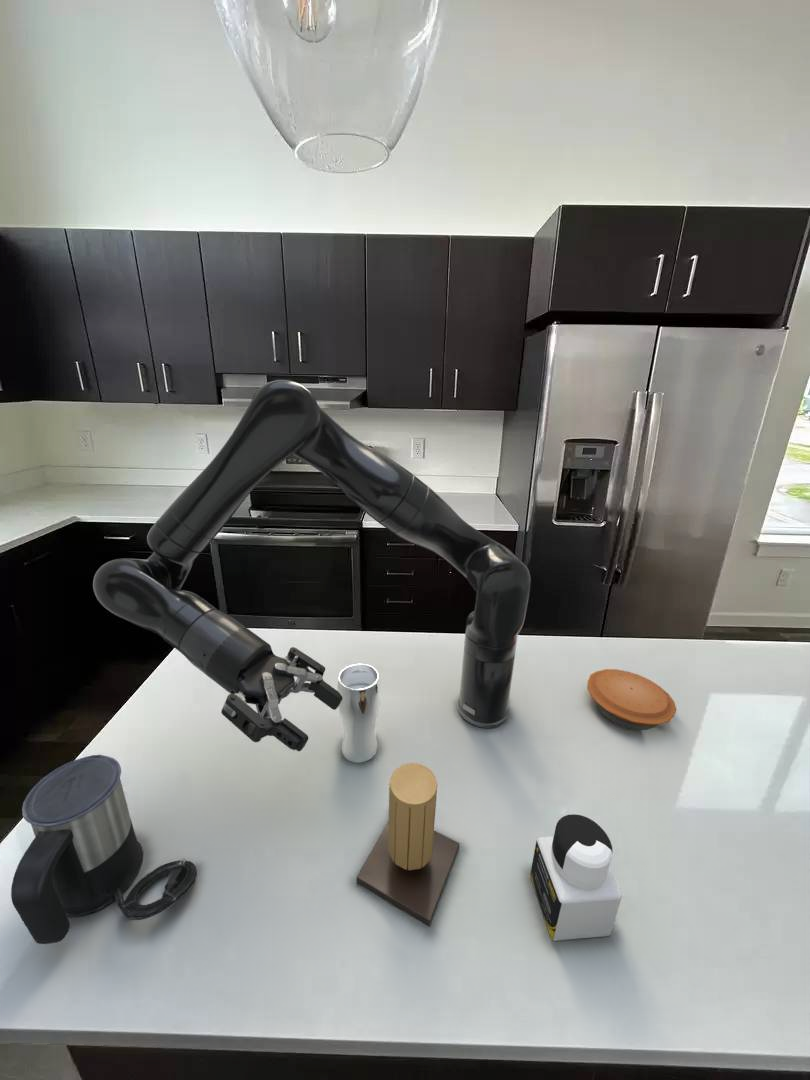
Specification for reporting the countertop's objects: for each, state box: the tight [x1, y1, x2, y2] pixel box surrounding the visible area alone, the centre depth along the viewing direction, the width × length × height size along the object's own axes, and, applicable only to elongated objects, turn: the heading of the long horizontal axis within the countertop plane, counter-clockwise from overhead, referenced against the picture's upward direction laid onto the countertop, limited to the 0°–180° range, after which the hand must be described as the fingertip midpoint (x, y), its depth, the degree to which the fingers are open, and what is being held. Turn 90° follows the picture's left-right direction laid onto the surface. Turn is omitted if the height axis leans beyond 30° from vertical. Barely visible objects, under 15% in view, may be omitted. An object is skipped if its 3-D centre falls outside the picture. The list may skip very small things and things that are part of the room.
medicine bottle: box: [529, 813, 623, 942], centre depth 50 cm, size 7×7×12 cm
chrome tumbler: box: [336, 663, 381, 764], centre depth 70 cm, size 7×7×15 cm
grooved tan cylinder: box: [388, 762, 438, 870], centre depth 52 cm, size 6×6×11 cm
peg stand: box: [356, 820, 460, 928], centre depth 53 cm, size 10×10×14 cm
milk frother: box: [10, 754, 198, 945], centre depth 50 cm, size 14×16×15 cm
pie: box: [586, 668, 677, 731], centre depth 83 cm, size 16×16×5 cm
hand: (323, 722), depth 54 cm, fingers open, 8 cm apart
